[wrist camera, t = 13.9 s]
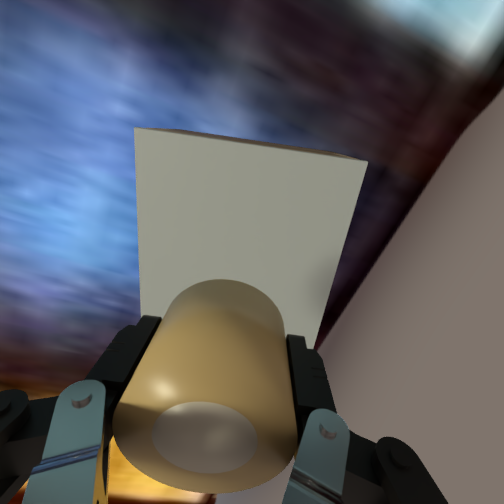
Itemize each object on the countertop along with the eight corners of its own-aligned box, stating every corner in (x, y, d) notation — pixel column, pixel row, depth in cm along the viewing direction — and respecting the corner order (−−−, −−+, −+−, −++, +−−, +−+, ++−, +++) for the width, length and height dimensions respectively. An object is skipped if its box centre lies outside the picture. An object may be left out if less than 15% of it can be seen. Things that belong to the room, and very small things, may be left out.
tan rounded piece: (165, 270, 12) (105, 358, 7) (295, 287, 12) (316, 384, 7) (163, 368, 14) (116, 485, 9) (273, 382, 14) (280, 503, 10)
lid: (139, 127, 18) (134, 127, 17) (364, 160, 18) (368, 161, 17) (145, 345, 25) (142, 352, 24) (304, 366, 25) (305, 373, 25)
